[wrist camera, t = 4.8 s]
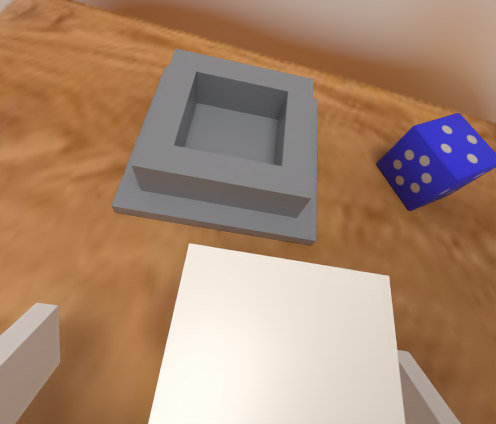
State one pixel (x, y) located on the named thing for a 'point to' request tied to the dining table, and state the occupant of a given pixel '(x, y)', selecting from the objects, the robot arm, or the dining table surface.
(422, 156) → the die
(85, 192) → the dining table surface
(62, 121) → the dining table surface
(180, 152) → the socket
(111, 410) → the dining table surface
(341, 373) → the plug
